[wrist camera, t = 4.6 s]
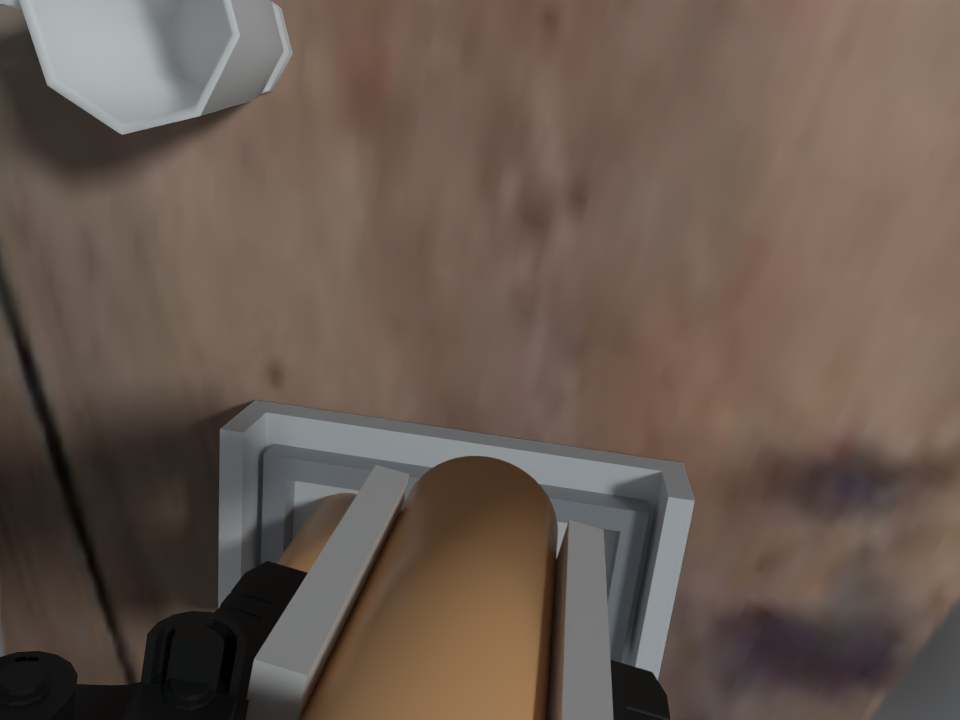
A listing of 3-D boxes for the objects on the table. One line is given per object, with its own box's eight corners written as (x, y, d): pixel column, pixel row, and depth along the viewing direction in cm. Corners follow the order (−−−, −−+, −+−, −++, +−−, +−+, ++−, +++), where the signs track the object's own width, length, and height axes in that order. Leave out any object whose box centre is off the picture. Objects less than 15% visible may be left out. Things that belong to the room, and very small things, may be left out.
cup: (313, 150, 32) (228, 156, 24) (81, 103, 32) (-75, 95, 25) (336, -38, 30) (250, -98, 22) (87, -85, 30) (-82, -158, 23)
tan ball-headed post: (400, 405, 17) (124, 817, 7) (611, 464, 17) (655, 983, 7) (359, 587, 19) (77, 1157, 8) (552, 643, 19) (513, 1304, 8)
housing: (255, 400, 35) (219, 428, 32) (683, 462, 33) (694, 501, 30) (250, 593, 38) (217, 638, 35) (644, 659, 36) (650, 714, 33)
